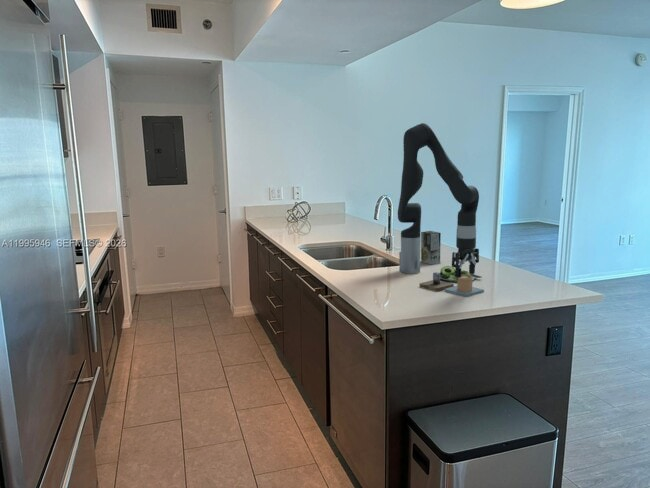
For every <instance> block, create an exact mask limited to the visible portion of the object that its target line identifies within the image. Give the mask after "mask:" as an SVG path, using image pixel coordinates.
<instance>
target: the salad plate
mask: <svg viewBox="0 0 650 488" xmlns="http://www.w3.org/2000/svg"><path fill="white" fill-rule="evenodd" d="M439 273H440V281H444V282H448V283H454V284H455V283H457V282H458V277H456V275H455V267H452V265H450V266H449V265H446V266H443V267H441V268H440V272H439ZM461 276H467V277H471V278H472V282H474V280H476V279H479V278H480V279H481V278H483V277H482V275H481V276H480V275H477V274H475V273H474V274H470V273H469V270H464V269H461Z"/></svg>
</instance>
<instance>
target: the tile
mask: <svg viewBox="0 0 650 488" xmlns="http://www.w3.org/2000/svg"><path fill="white" fill-rule="evenodd" d="M444 292H445V293H449V294H453V295H457V296H461V297H465V298H467V297H471V296H472V297H473V296H474V295H475V296H476V295H478V294H481V293H484V292H485V289H484V288H478V287H474V286H472V291H459V290H458V289H457V285H455V286H454V287H450V288H446V289H445V290H444Z"/></svg>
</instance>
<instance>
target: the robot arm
mask: <svg viewBox="0 0 650 488" xmlns="http://www.w3.org/2000/svg"><path fill="white" fill-rule="evenodd" d="M424 147H427V148H429V150H430V151H431V153H432V154H433V158H434V159H433V160H434V165H435V170H436V172H437V174H438V175H439V177H440V178H441V179H442V180H443V182H444V183H445V184H446V186H447V187H448V188H449V191H450V192H451V195H452V196H453V198H454V200H456V202H457V203H459V204H460V205H461V206H460V210H459V211H458V212H457V222H456V223H457V226H456V235H455V236H456V243H455V244H456V248H457V252H456V251H453V252H452V255H451V257H452V258H451V267H453V268H454V269H455V275H456V277H458V278H460V277H461V271H462V267H463V265H464V264H465V263H466V262H468V263H469V265H468V266H469V267H468V273H470V274H475V273H476V270H475V269H476V265H477V263H479V262H480V249H479V248H476V247H477V246H476V245H477V227H476V225H477V222H476V221H477V211H478V206H479V201H480V194H479V190H478V189H477V187H475V186H474V185H467V184H466V183H465V181H464V176H463V174H462V173H461V171H460V170H459V168H458V167H457V166H456V165H455V164H454V163H453V161H452V160H451V159H450V157H449V156H448V154H447V152H446V150H445V149H444V147H443V146H442V144H441V142H440V140H439V138H438V137H437V135H436V133H435V132H434V130H433V128H432V127H430V125H429V124H427V123H425V122H424V123H423V122H421V123H419V124H416V125H415V126H412V127H409V129H407V130H406V131H405V132H404V133H403V163H402V174H401V183H400V197H399V201H398V208H397V219H398V222H400V223H406V224H409V223H412V225H410V226H409V227H408V228H405V229H402V230H401V231H400V251H399V252H398V253H399V259H398V261H399V272H401V273H403V274H410V275H412V274H419V273H421V226H422V225H421V223H422V206H421V204H420V203H419V202H411V203H410V200H411V199H412V198H413V197H414V196H415V195H416V194H417V193H418V191H419V190H421V188H422V186H423V181H424V169H423V167H422V165H421V164H420V163H419V161H418V153H419V151H420V150H421V149H422V148H424Z"/></svg>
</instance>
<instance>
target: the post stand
mask: <svg viewBox="0 0 650 488" xmlns="http://www.w3.org/2000/svg"><path fill="white" fill-rule="evenodd" d="M454 285H455V283H453V282H444V281H440V272H433V274H432V280H426V281H424V282H420V283H419V288H423V289H427V290H430V291H434V292H441V291H445V289H446V288H450V287H454Z"/></svg>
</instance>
